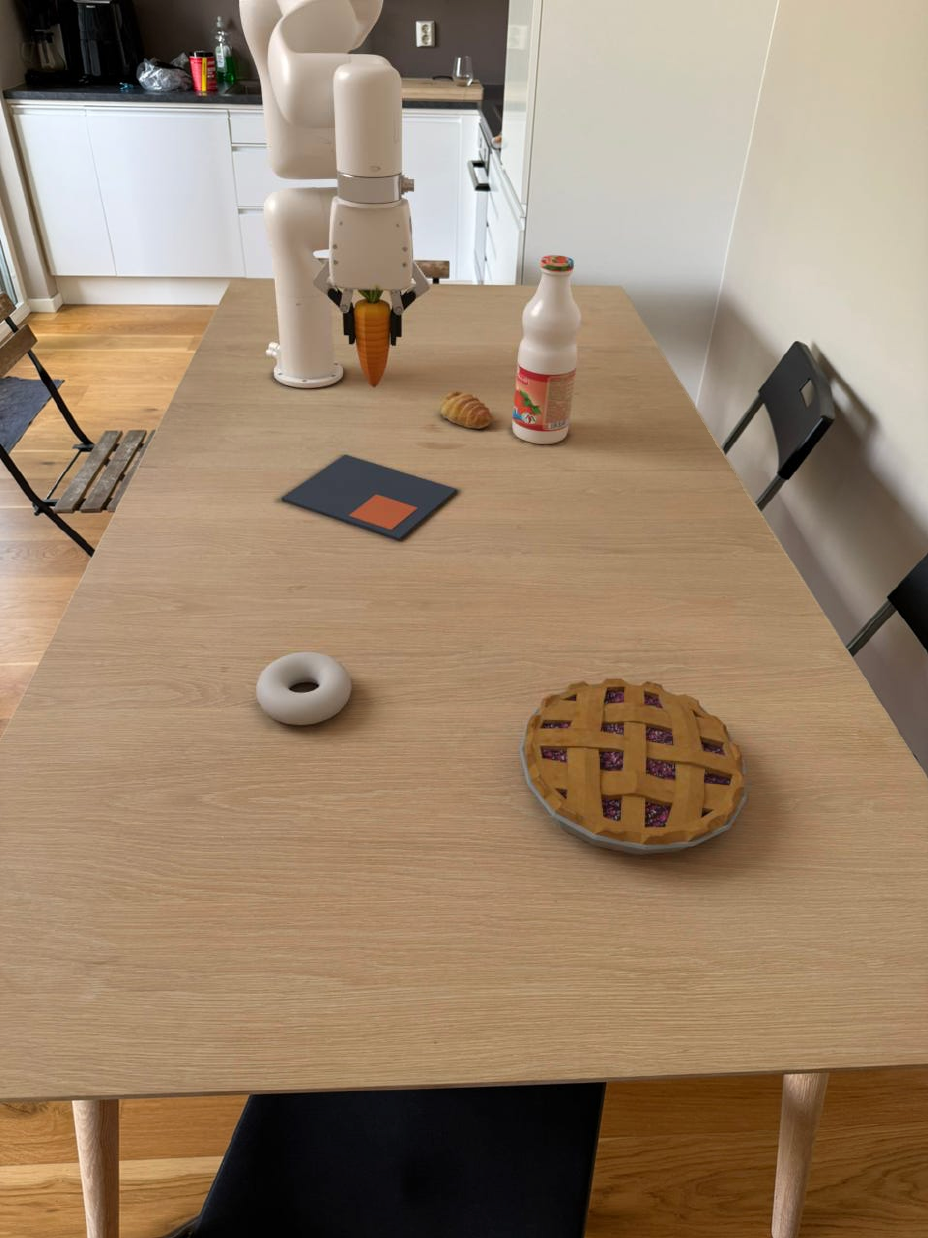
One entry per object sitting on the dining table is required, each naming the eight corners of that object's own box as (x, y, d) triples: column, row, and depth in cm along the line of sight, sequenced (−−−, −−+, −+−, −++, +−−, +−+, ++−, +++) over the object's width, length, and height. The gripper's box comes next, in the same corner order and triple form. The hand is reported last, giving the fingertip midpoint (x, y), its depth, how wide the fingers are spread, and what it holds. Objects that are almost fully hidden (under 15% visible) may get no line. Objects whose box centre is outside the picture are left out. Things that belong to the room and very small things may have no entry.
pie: (516, 863, 79) (521, 826, 76) (517, 697, 97) (520, 662, 94) (762, 879, 79) (776, 843, 76) (718, 710, 96) (728, 675, 93)
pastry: (501, 423, 151) (502, 402, 149) (473, 435, 147) (474, 414, 145) (462, 405, 156) (463, 385, 154) (434, 416, 152) (434, 395, 150)
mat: (281, 500, 128) (281, 496, 127) (345, 457, 139) (345, 453, 139) (399, 540, 121) (399, 537, 120) (456, 491, 132) (457, 488, 132)
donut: (237, 708, 94) (311, 745, 90) (233, 683, 92) (308, 720, 88) (300, 658, 101) (371, 690, 96) (297, 634, 99) (369, 666, 94)
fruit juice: (569, 446, 145) (592, 270, 128) (512, 444, 145) (527, 267, 128) (565, 421, 153) (586, 251, 136) (510, 419, 153) (524, 248, 136)
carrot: (398, 383, 120) (397, 268, 111) (383, 396, 116) (382, 279, 107) (364, 376, 121) (361, 262, 112) (349, 390, 117) (344, 273, 108)
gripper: (442, 183, 107) (438, 333, 118) (300, 178, 106) (310, 329, 118) (442, 198, 101) (438, 354, 112) (292, 192, 100) (303, 350, 112)
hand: (373, 339), depth 115 cm, fingers closed on carrot, 4 cm apart
